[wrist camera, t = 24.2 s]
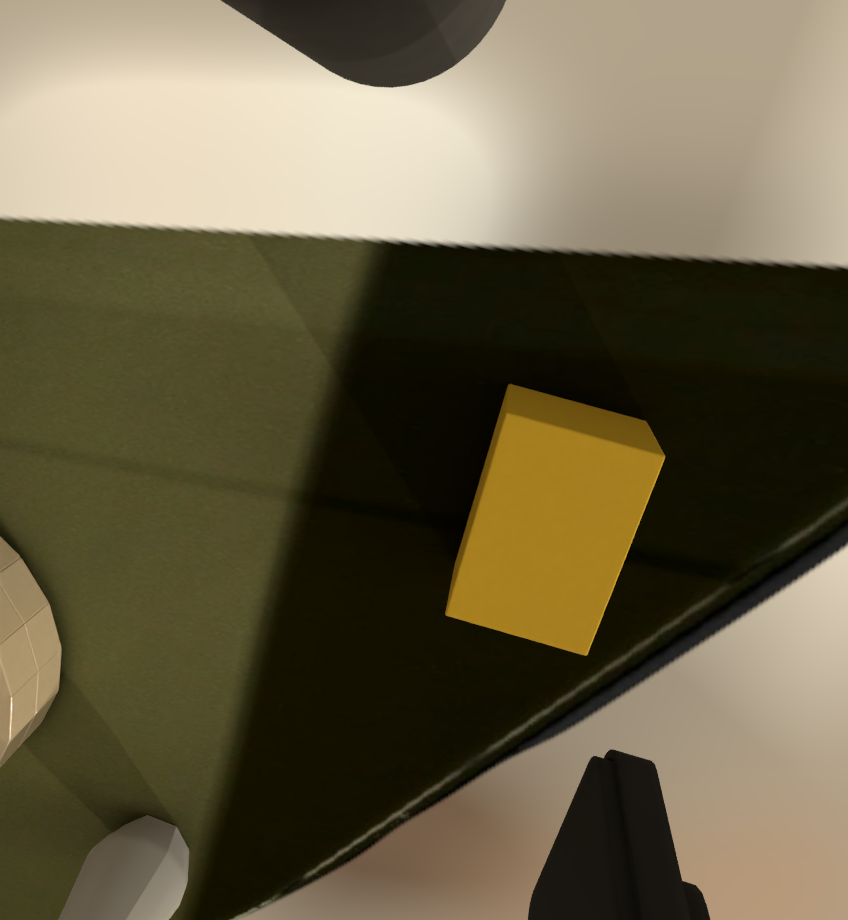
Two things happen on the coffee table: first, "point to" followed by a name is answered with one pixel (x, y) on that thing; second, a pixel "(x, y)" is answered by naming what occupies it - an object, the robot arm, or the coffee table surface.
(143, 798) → the coffee table surface
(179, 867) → the salt shaker
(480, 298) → the coffee table surface
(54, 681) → the bowl
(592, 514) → the sponge
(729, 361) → the coffee table surface
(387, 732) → the coffee table surface
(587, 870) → the robot arm
